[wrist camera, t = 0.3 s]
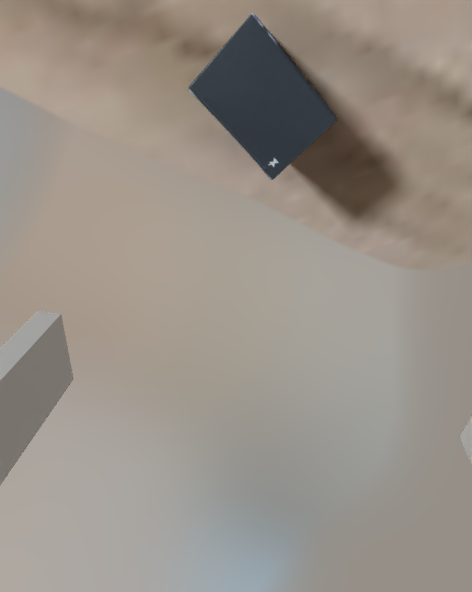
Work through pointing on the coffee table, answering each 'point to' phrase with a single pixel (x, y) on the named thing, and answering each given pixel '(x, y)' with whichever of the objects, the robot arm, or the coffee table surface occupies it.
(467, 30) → the coffee table surface
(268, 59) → the box
